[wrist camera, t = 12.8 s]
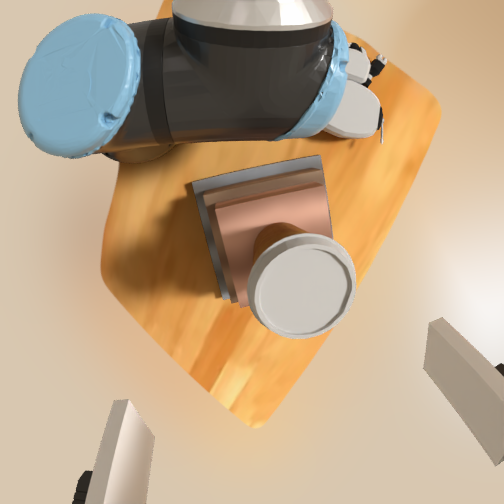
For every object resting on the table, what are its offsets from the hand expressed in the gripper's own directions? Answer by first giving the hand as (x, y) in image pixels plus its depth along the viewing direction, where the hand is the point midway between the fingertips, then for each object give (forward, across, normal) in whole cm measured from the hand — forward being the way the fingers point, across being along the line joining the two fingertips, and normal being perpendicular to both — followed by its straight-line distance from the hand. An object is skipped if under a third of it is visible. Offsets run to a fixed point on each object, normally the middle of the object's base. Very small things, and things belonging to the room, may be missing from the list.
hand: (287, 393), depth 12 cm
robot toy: (+35, +19, +14) cm, 42 cm away
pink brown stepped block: (+34, +4, -3) cm, 35 cm away
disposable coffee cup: (+25, +4, -3) cm, 25 cm away
